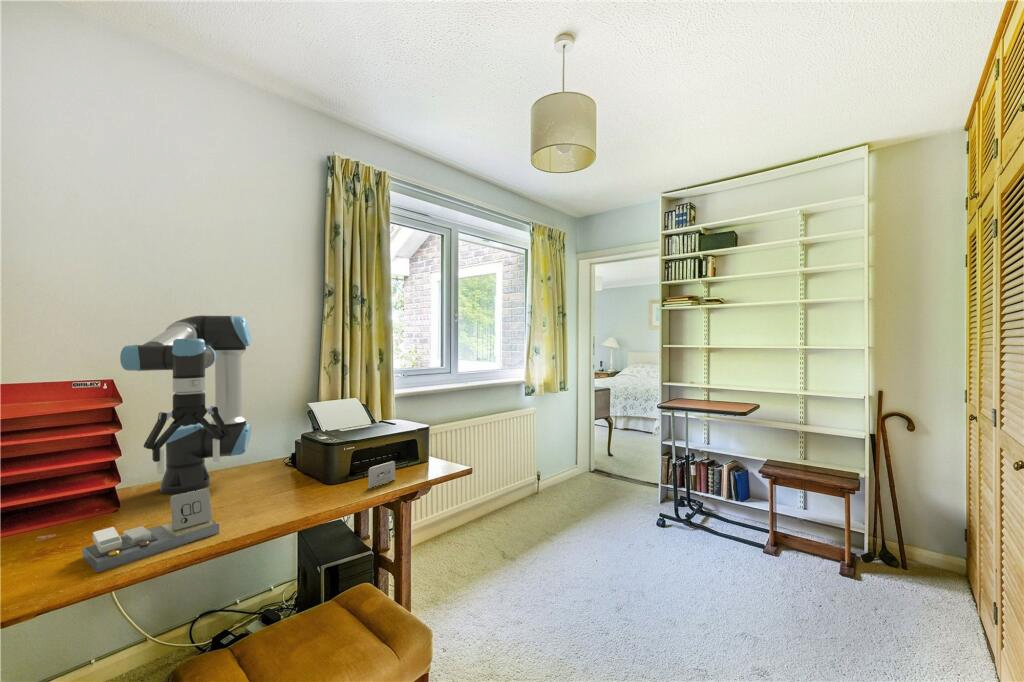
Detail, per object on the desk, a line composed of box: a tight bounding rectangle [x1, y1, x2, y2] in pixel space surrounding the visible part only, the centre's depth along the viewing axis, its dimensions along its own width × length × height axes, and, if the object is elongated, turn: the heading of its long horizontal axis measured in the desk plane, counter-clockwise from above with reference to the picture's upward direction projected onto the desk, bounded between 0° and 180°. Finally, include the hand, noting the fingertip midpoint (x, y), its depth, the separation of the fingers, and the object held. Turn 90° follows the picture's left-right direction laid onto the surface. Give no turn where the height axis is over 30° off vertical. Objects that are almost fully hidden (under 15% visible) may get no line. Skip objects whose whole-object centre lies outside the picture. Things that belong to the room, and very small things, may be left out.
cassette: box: [368, 460, 396, 489], centre depth 168 cm, size 12×2×8 cm, turn 145°
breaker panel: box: [81, 518, 220, 574], centre depth 119 cm, size 13×26×4 cm, turn 146°
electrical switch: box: [169, 487, 213, 530], centre depth 126 cm, size 9×5×9 cm, turn 140°
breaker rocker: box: [92, 526, 122, 553], centre depth 111 cm, size 7×4×2 cm, turn 56°
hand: (189, 466), depth 125 cm, fingers open, 13 cm apart
